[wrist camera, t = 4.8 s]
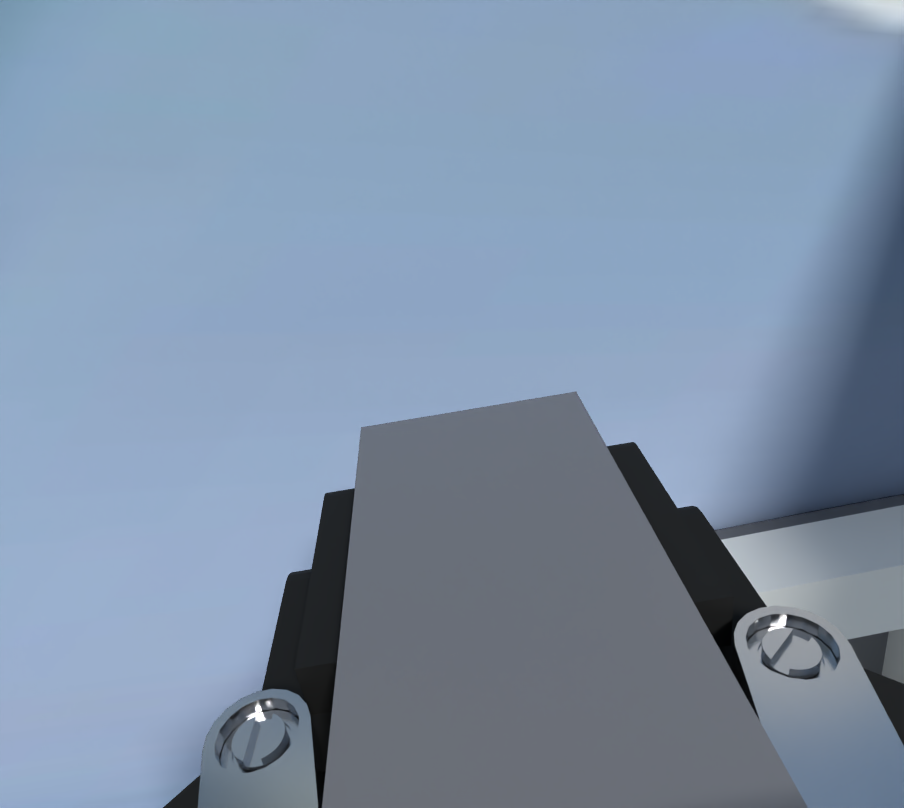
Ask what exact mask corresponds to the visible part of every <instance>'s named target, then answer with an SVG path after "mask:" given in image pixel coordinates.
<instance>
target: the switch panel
mask: <svg viewBox="0 0 904 808" xmlns="http://www.w3.org/2000/svg"><path fill="white" fill-rule="evenodd" d="M714 531H715V532H716V534H717V535H718V536H719V538H720V539H721V541H722V542H723V544H724V545H725V547H726V548H727V549H728V551H729V552H730V554H731V555H732V557H733V558H734V560H735V561H736V563H737V564H738V565H739V567H740V568H741V570H742V571H743V573H744V574H745V576H746V577H747V578H748V580H749V581H750V583H751V584H752V586H753V587H754V589H755V590H756V591H757V593H758V594H759V596H760V597H761V599H762V600H763V602H764V603H765V604H766V606H767V607H770V606H785V607H794V608H798V609H802V610H805V611H809V612H811V613H814V614H816V615H818V616H820V617H822V618H824V619H826V620H827V621H829V622H830V623H831V624H832V625H834V626H835V627H836V628H837V629H839V630H840V631H841V632H842V634H843V635H844V636H845V638H846V639H847V640H848V642H849V643H850V644H851V646H852V648H853V650H854V652H855V654H856V656H857V658H858V660H859V662H860V663H861V665H862V667H863V668H865V669H867V670H870V671H872V672H875V673H877V674H880V675H882V676H885V677H888V678H890V679H893V680H895V681H898V682H900V683H903V684H904V495H898V496H893V497H888V498H883V499H877V500H872V501H867V502H862V503H856V504H851V505H846V506H841V507H835V508H830V509H825V510H819V511H814V512H809V513H804V514H798V515H793V516H788V517H783V518H777V519H772V520H767V521H762V522H756V523H751V524H746V525H741V526H735V527H730V528H725V529H720V530H714Z"/></svg>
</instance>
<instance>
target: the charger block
mask: <svg viewBox="0 0 904 808" xmlns="http://www.w3.org/2000/svg"><path fill="white" fill-rule="evenodd" d="M322 808H808V807H807V805H806V803H805V802H804V800H803V798H802V796H801V794H800V793H799V791H798V789H797V787H796V785H795V784H794V782H793V780H792V778H791V776H790V775H789V773H788V771H787V769H786V767H785V766H784V764H783V762H782V760H781V759H780V757H779V755H778V753H777V751H776V750H775V748H774V746H773V744H772V742H771V741H770V739H769V737H768V735H767V733H766V732H765V730H764V728H763V726H762V724H761V723H760V721H759V719H758V717H757V715H756V714H755V712H754V710H753V708H752V706H751V705H750V703H749V701H748V699H747V698H746V696H745V694H744V692H743V690H742V689H741V687H740V685H739V683H738V681H737V680H736V678H735V676H734V674H733V672H732V671H731V669H730V667H729V665H728V663H727V662H726V660H725V658H724V656H723V654H722V653H721V651H720V649H719V647H718V645H717V644H716V642H715V640H714V638H713V636H712V635H711V633H710V631H709V629H708V628H707V626H706V624H705V622H704V620H703V619H702V617H701V615H700V613H699V611H698V610H697V608H696V606H695V604H694V602H693V601H692V599H691V597H690V595H689V593H688V592H687V590H686V588H685V586H684V584H683V583H682V581H681V579H680V577H679V575H678V574H677V572H676V570H675V568H674V567H673V565H672V563H671V561H670V559H669V558H668V556H667V554H666V552H665V550H664V549H663V547H662V545H661V543H660V541H659V540H658V538H657V536H656V534H655V532H654V531H653V529H652V527H651V525H650V523H649V522H648V520H647V518H646V516H645V514H644V513H643V511H642V509H641V507H640V506H639V504H638V502H637V500H636V498H635V497H634V495H633V493H632V491H631V489H630V488H629V486H628V484H627V482H626V480H625V479H624V477H623V475H622V473H621V471H620V470H619V468H618V466H617V464H616V462H615V461H614V459H613V457H612V455H611V453H610V452H609V450H608V448H607V446H606V444H605V443H604V441H603V439H602V437H601V436H600V434H599V432H598V430H597V428H596V427H595V425H594V423H593V421H592V419H591V418H590V416H589V414H588V412H587V410H586V409H585V407H584V405H583V403H582V401H581V400H580V398H579V396H578V394H577V392H571V393H565V394H559V395H553V396H547V397H541V398H535V399H529V400H523V401H517V402H511V403H505V404H499V405H493V406H487V407H481V408H475V409H469V410H463V411H457V412H451V413H445V414H439V415H433V416H427V417H421V418H415V419H409V420H403V421H397V422H391V423H385V424H379V425H373V426H367V427H361V434H360V444H359V453H358V463H357V473H356V483H355V492H354V502H353V512H352V521H351V531H350V541H349V550H348V560H347V570H346V579H345V589H344V599H343V609H342V618H341V628H340V638H339V647H338V657H337V667H336V676H335V686H334V696H333V706H332V715H331V725H330V735H329V744H328V754H327V764H326V773H325V783H324V793H323V803H322Z"/></svg>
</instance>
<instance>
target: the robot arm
mask: <svg viewBox="0 0 904 808" xmlns="http://www.w3.org/2000/svg"><path fill="white" fill-rule="evenodd" d="M607 448H608V450H609V452H610V453H611V455H612V457H613V459H614V461H615V462H616V464H617V466H618V468H619V470H620V471H621V473H622V475H623V477H624V479H625V480H626V482H627V484H628V486H629V488H630V489H631V491H632V493H633V495H634V497H635V498H636V500H637V502H638V504H639V506H640V507H641V509H642V511H643V513H644V514H645V516H646V518H647V520H648V522H649V523H650V525H651V527H652V529H653V531H654V532H655V534H656V536H657V538H658V540H659V541H660V543H661V545H662V547H663V549H664V550H665V552H666V554H667V556H668V558H669V559H670V561H671V563H672V565H673V567H674V568H675V570H676V572H677V574H678V575H679V577H680V579H681V581H682V583H683V584H684V586H685V588H686V590H687V592H688V593H689V595H690V597H691V599H692V601H693V602H694V604H695V606H696V608H697V610H698V611H699V613H700V615H701V617H702V619H703V620H704V622H705V624H706V626H707V628H708V629H709V631H710V633H711V635H712V636H713V638H714V640H715V642H716V644H717V645H718V647H719V649H720V651H721V653H722V654H723V656H724V658H725V660H726V662H727V663H728V665H729V667H730V669H731V671H732V672H733V674H734V676H735V678H736V680H737V681H738V683H739V685H740V687H741V689H742V690H743V692H744V694H745V696H746V698H747V699H748V701H749V703H750V705H751V706H752V708H753V710H754V712H755V714H756V715H757V717H758V719H759V721H760V723H761V724H762V726H763V728H764V730H765V732H766V733H767V735H768V737H769V739H770V741H771V742H772V744H773V746H774V748H775V750H776V751H777V753H778V755H779V757H780V759H781V760H782V762H783V764H784V766H785V767H786V769H787V771H788V773H789V775H790V776H791V778H792V780H793V782H794V784H795V785H796V787H797V789H798V791H799V793H800V794H801V796H802V798H803V800H804V802H805V803H806V805H807V807H808V808H904V684H903V683H900V682H898V681H895V680H893V679H890V678H888V677H885V676H882V675H880V674H877V673H875V672H872V671H870V670H867V669H865V668H863V667H862V665H861V663H860V662H859V660H858V658H857V656H856V654H855V652H854V650H853V648H852V646H851V644H850V643H849V642H848V640H847V639H846V638H845V636H844V635H843V634H842V632H841V631H840V630H839V629H837V628H836V627H835V626H834V625H832V624H831V623H830V622H829V621H827V620H826V619H824V618H822V617H820V616H818V615H816V614H814V613H811V612H809V611H805V610H802V609H798V608H794V607H785V606H770V607H767V606H766V604H765V603H764V602H763V600H762V599H761V597H760V596H759V594H758V593H757V591H756V590H755V589H754V587H753V586H752V584H751V583H750V581H749V580H748V578H747V577H746V576H745V574H744V573H743V571H742V570H741V568H740V567H739V565H738V564H737V563H736V561H735V560H734V558H733V557H732V555H731V554H730V552H729V551H728V549H727V548H726V547H725V545H724V544H723V542H722V541H721V539H720V538H719V536H718V535H717V534H716V532H715V531H714V529H713V528H712V526H711V525H710V523H709V522H708V521H707V519H706V518H705V516H704V515H703V513H702V512H701V511H700V510H699V509H698V508H697V507H695V506H689V507H683V508H677V507H676V506H675V504H674V502H673V501H672V499H671V498H670V496H669V495H668V493H667V491H666V490H665V488H664V487H663V485H662V484H661V482H660V481H659V479H658V477H657V476H656V474H655V473H654V471H653V470H652V468H651V467H650V465H649V463H648V462H647V460H646V459H645V457H644V456H643V454H642V452H641V451H640V449H639V448H638V446H637V445H636V444H635V443H634V442H631V443H625V444H619V445H613V446H607ZM354 492H355V488H354V489H348V490H342V491H336V492H330V493H326V494H325V496H324V501H323V507H322V513H321V519H320V524H319V530H318V536H317V542H316V547H315V553H314V559H313V565H312V569H310V570H304V571H298V572H292V573H290V574H289V575H288V578H287V581H286V584H285V589H284V593H283V598H282V603H281V607H280V612H279V616H278V621H277V625H276V630H275V634H274V639H273V643H272V648H271V652H270V657H269V662H268V666H267V671H266V675H265V680H264V684H263V689H262V691H258V692H255V693H253V694H251V695H248V696H246V697H244V698H242V699H240V700H239V701H237V702H236V703H234V704H233V705H232V706H230V707H229V708H227V709H226V710H225V711H224V712H223V713H222V715H221V716H220V717H219V718H218V719H217V720H216V721H215V722H214V724H213V726H212V727H211V729H210V731H209V732H208V734H207V736H206V739H205V743H204V747H203V751H202V763H201V775H200V776H199V777H197V778H196V779H195V780H194V781H193V782H192V783H191V784H190V785H188V786H187V787H186V788H185V789H184V790H183V791H182V792H180V793H179V794H178V795H177V796H176V797H175V798H174V799H172V800H171V801H170V802H169V803H168V804H167V805H166V806H164V807H163V808H322V803H323V793H324V783H325V773H326V764H327V754H328V744H329V735H330V725H331V715H332V706H333V696H334V686H335V676H336V667H337V657H338V647H339V638H340V628H341V618H342V609H343V599H344V589H345V579H346V570H347V560H348V550H349V541H350V531H351V521H352V512H353V502H354Z"/></svg>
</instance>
